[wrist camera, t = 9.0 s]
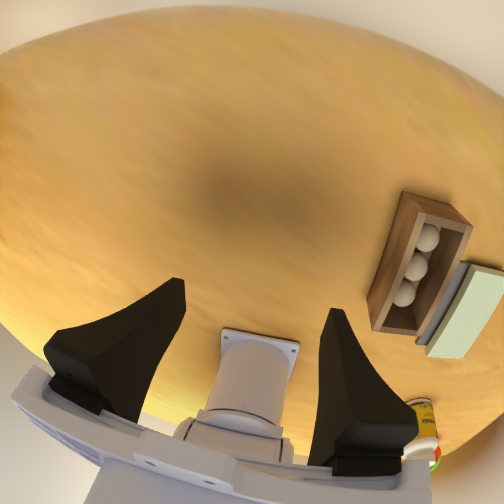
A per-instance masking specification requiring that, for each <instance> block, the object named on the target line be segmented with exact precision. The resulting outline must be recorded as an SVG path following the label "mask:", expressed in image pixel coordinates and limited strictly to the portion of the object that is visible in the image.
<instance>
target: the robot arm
mask: <svg viewBox="0 0 504 504" xmlns="http://www.w3.org/2000/svg"><path fill="white" fill-rule="evenodd" d="M185 312H186V300H185V285H184V280H183V279H179V278H174V277H173V278H171V279H170V280H168V281H167V282H165V283H164V284H162V285H161V286H159V287H158V288H156V289H155V290H154V291H152V292H151V293H149V294H148V295H146V296H145V297H143V298H141V299H140V300H138V301H136V302H135V303H133V304H131V305H130V306H128V307H126V308H124V309H122V310H120V311H118V312H116V313H114V314H112V315H110V316H107V317H105V318H102V319H99V320H97V321H94V322H91V323H88V324H84V325H81V326H77V327H73V328H68V329H62V330H57V331H56V333H55V334H54V335H53V336H52V337H51V339H50V340H49V341H48V342H47V343H46V345H45V346H44V348H43V351H44V355H45V357H46V359H47V360H48V362H49V364H50V365H51V367H52V368H53V370H54V372H55V375H54V376H53V378H52V377H51V375H49V374H48V373H47V372H45V371H43V370H42V369H40V368H39V367H37V366H36V365H33V366H32V368H31V369H30V370H29V371H28V373H27V374H26V375H25V377H24V378H23V380H22V381H21V382H20V384H19V385H18V386H17V388H16V389H15V390H14V392H13V393H12V395H11V396H10V399H11V400H12V402H13V403H14V404H15V405H16V406H17V407H18V408H19V409H20V410H21V411H22V412H23V414H24V415H25V416H26V417H27V418H28V419H29V420H30V421H31V422H32V423H34V424H35V425H36V426H38V427H39V428H40V429H42V430H43V431H45V432H46V433H47V434H49V435H50V436H52V437H53V438H55V439H56V440H57V441H59V442H60V443H62V444H63V445H65V446H66V447H68V448H69V449H71V450H72V451H74V452H76V453H77V454H79V455H81V456H82V457H84V458H85V459H87V460H89V461H90V462H92V463H94V464H95V465H97V466H99V467H101V469H100V471H99V473H98V475H97V477H96V479H95V481H94V483H93V485H92V487H91V489H90V491H89V493H88V495H87V498H86V500H85V502H84V504H431V503H432V502H431V478H430V464H429V459H417V460H408V461H404V462H402V463H401V456H403V455H404V447H405V446H406V445H407V444H409V443H410V442H411V441H412V440H413V439H414V438H415V437H416V436H417V435H418V433H419V425H418V418H417V415H416V411H415V410H413V409H412V408H411V407H410V406H409V405H407V404H406V403H405V402H404V401H403V400H402V399H401V398H400V397H399V396H398V395H397V394H396V393H394V392H393V390H392V389H391V388H390V387H389V386H388V385H387V384H386V383H385V381H384V380H383V379H382V378H381V377H380V375H379V374H378V373H377V372H376V370H375V369H374V367H373V366H372V364H371V363H370V361H369V360H368V358H367V356H366V355H365V353H364V351H363V350H362V348H361V346H360V344H359V342H358V340H357V338H356V336H355V334H354V332H353V330H352V328H351V326H350V324H349V321H348V319H347V317H346V314H345V312H344V310H343V309H336V308H330V311H329V314H328V317H327V320H326V323H325V326H324V329H323V332H322V334H321V337H320V347H319V398H318V408H317V415H316V422H315V429H314V435H313V440H312V445H311V450H310V455H309V459H308V464H307V465H297V464H293V456H294V447H293V445H292V443H291V442H290V440H289V439H288V438H283V437H282V432H283V427H280V425H281V419H282V413H283V407H284V401H285V395H286V388H287V385H288V382H289V379H290V376H291V373H292V370H293V367H294V364H295V361H296V358H297V355H298V352H299V348H300V344H299V343H297V342H292V341H287V340H281V339H275V338H270V337H265V336H260V335H255V334H250V333H245V332H240V331H235V330H231V329H223V330H222V333H221V364H220V367H219V370H218V373H217V376H216V378H215V381H214V384H213V387H212V390H211V392H210V395H209V398H208V401H207V403H206V406H205V409H204V410H201V409H200V410H199V412H198V415H197V417H196V418H192V417H189V418H187V419H186V420H184V421H182V422H181V423H180V424H179V425H178V427H177V429H176V431H175V432H174V435H173V437H171V436H168V435H165V434H162V433H159V432H157V431H154V430H151V429H149V428H146V427H143V426H141V425H138V424H137V423H138V419H139V416H140V412H141V409H142V406H143V403H144V400H145V397H146V394H147V391H148V389H149V386H150V383H151V381H152V378H153V376H154V373H155V371H156V369H157V366H158V364H159V362H160V360H161V358H162V357H163V355H164V353H165V351H166V350H167V348H168V346H169V344H170V343H171V341H172V339H173V338H174V336H175V334H176V332H177V331H178V329H179V327H180V325H181V322H182V320H183V317H184V315H185ZM226 336H227V337H226ZM293 349H295V350H293Z"/></svg>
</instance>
